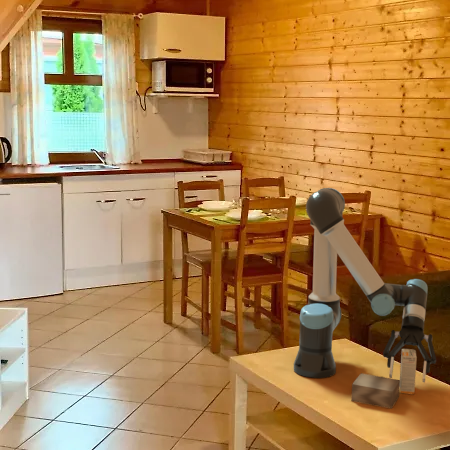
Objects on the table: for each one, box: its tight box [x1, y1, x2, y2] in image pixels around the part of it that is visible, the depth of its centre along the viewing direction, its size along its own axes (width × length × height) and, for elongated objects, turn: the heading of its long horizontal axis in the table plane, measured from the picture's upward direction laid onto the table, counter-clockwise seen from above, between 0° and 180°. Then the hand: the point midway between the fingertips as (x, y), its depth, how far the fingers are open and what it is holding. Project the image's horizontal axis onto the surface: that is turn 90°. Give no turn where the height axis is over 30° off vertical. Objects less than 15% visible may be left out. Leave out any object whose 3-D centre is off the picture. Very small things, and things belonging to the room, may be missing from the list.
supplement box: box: [399, 348, 418, 395], centre depth 240 cm, size 8×5×13 cm, turn 168°
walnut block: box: [350, 372, 400, 409], centre depth 232 cm, size 13×11×6 cm
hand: (406, 378), depth 237 cm, fingers open, 10 cm apart
